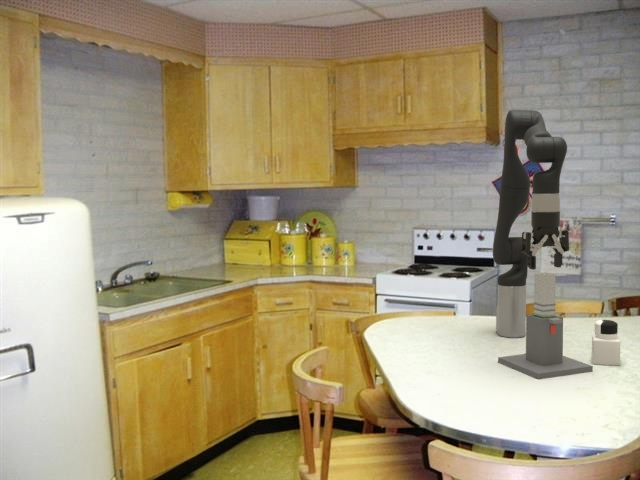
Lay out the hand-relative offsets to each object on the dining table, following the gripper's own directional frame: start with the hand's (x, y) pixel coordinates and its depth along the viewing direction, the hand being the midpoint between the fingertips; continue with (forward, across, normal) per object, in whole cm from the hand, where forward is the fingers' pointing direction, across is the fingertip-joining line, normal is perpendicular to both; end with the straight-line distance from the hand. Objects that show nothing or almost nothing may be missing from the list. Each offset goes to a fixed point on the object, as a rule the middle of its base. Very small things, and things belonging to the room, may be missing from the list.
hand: (544, 268), depth 189 cm
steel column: (+20, 0, 0) cm, 20 cm away
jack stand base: (+28, 0, 0) cm, 28 cm away
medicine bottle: (+28, -19, +3) cm, 34 cm away
